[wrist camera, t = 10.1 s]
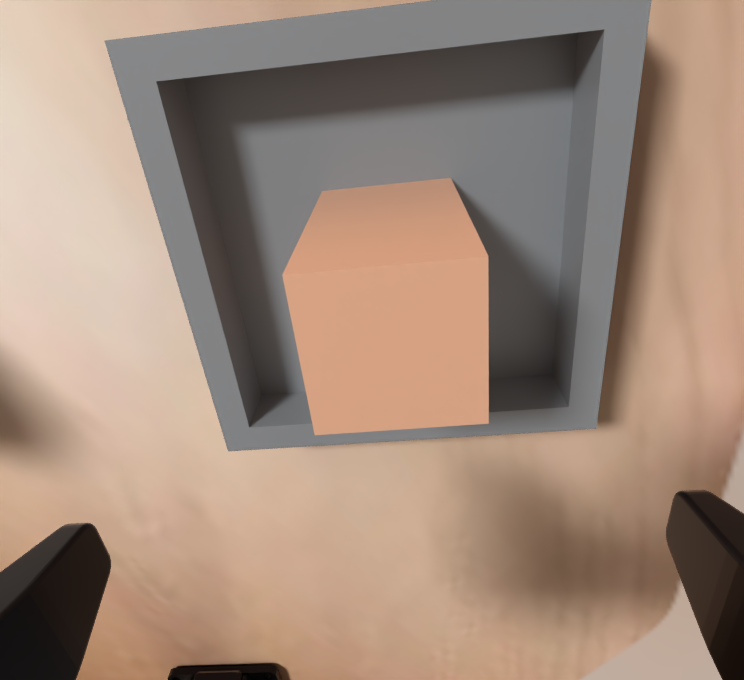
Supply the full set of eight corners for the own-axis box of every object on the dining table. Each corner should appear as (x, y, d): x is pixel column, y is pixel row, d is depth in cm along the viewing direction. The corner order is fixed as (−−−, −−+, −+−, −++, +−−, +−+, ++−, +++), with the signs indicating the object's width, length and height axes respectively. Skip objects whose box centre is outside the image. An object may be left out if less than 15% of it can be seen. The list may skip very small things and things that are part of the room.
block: (455, 296, 18) (488, 423, 12) (339, 306, 18) (314, 435, 12) (450, 177, 16) (488, 256, 10) (322, 190, 16) (282, 274, 10)
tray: (569, 380, 21) (596, 428, 18) (247, 402, 22) (227, 451, 19) (606, -13, 15) (654, -27, 12) (152, 42, 15) (104, 40, 13)
